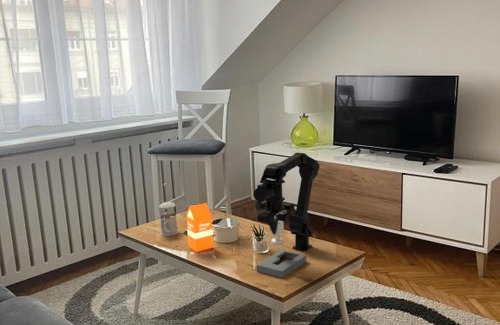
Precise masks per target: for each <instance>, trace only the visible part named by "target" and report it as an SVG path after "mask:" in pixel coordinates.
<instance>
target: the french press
mask: <svg viewBox="0 0 500 325" xmlns="http://www.w3.org/2000/svg"><path fill="white" fill-rule="evenodd" d="M163 187H165V188H167V187H168V183H167V182H166V183H165V182H164V183H163ZM165 195H166V196H165V197H166V200H168V196H167V192H165ZM158 207H159V210H158V213H159V214H158V215H159V218H160V228H161V231H160V232H159V234H160V235H161V236H166V237H169V236H175V235H177V234H179V233H180V230H179V229H178V222H177V214H176V212H175V211H173V210H169V209H172V208H175V207H176V203H174V202H172V201H165V202H163V203H160V205H159V206H158ZM160 210H161V211H160ZM164 210H165V211H164ZM160 212H161V213H160Z"/></svg>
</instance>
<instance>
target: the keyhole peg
mask: <svg viewBox="0 0 500 325" xmlns="http://www.w3.org/2000/svg"><path fill="white" fill-rule="evenodd" d="M284 226H285V224H284V223H283V221H279V220H278V224H277V229H276V233H275V234H273V233H272V231H271V229H270V228H269V233H270V235H271V236H274V238H271V242H270V243H271V244H272V245H273V246H281V245H283V244H284V242H285V240H284V238H282V237H280V236H281V235H283V234H284V233H285V230H284V229H285V228H284Z"/></svg>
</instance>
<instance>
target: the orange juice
mask: <svg viewBox="0 0 500 325" xmlns="http://www.w3.org/2000/svg"><path fill="white" fill-rule="evenodd" d="M186 228H187V230H186V231H188V235H187V238H188V239H187V240H188V242H187V243H188V248H190V249H192V250H193V251H194V252H196V253H197V252H200V251H201V252H202V251H204V250H209V249H212V248H214V236H213V233H214V232H213V219H212V213H211V212H210V209H209V206H208V203H207V202H203V203H201V204H195V205H191V206H189V207H188V211H187V214H186Z"/></svg>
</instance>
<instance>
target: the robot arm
mask: <svg viewBox="0 0 500 325" xmlns="http://www.w3.org/2000/svg"><path fill="white" fill-rule="evenodd" d="M320 167H321V166H320V163H319V162H318V160H316V159H314V158H313V157H310V156H309V155H308V154H307V153H305V152H295V153H294V154H292V155H290V156H289V157H287V158H285V159H283V160H282V161H280V162H274V163H270V164H267V165H266V166H265V168H264V170H263V172H262V176H261V178H260V181H259V183H260V184H257V186H256V188H255V189H254V191H253V198H254V200H255V201H256V202H255V203H254V207H255V208H254V209H255V210H256V211H258V212H260V213H258V214H257V215H256V221H257V222H259V223H264V224H268V226H269V230H270V229H271V231H272V233H273V234H275V233H276V229H277V224H278V220H279V221H283V223H284V225H285V223H286V222H287V219H288V218H289V223H288V228H289V231H290V234H291V235H295V236H294V237H295V238H294V239H295V240H294V241H295V242H294V244H295V245H293V246H292V250H293V249H295V250H298V251H302V252H306V251H308V250H310V249H311V248H312V247H313V245H312V244H310V238H312V236H313V235H314V231H315V230H314V228H313V227H312V226H311V225H310V222H311V220H310V218H309V215H308V212H309V205H310V199H311V192H312V187H313V181H314V180H315V179H316V178H317V176H318V174H319V170H320ZM294 168H298V174H299V177H300V178H301V179H300V180H301V181H300V184H299V191H298V198H297V203H296V206H295V205H294V203H291V202H284V201H285V199H286V198H285V197H283V184H285V183H286V181H285V180H284V178H286V176H287V173H288V172H289V171H291V170H292V169H294ZM295 207H296V209H295ZM264 210H265V211H264ZM261 211H262V212H261ZM288 211H289V212H288ZM294 211H295V212H294ZM293 212H294V213H293ZM290 213H293V214H290Z"/></svg>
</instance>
